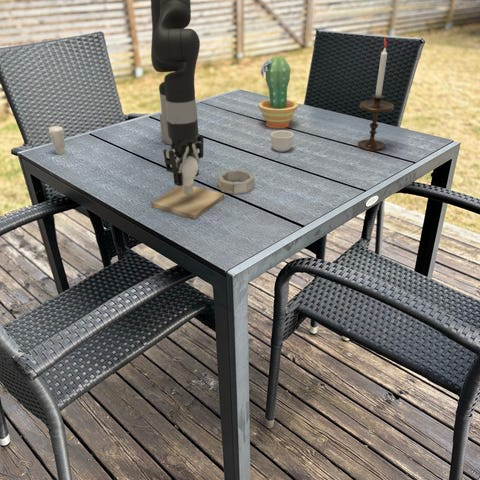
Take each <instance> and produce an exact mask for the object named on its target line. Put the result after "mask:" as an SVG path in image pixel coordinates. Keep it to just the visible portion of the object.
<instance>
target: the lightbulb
mask: <svg viewBox="0 0 480 480" xmlns="http://www.w3.org/2000/svg"><path fill="white" fill-rule="evenodd" d="M176 159H177V160H181V158H178V157H177V158H176ZM178 165H179V163H177V164H176V166H177V168H178ZM198 166H199V162H198V163H197V161H196V159H195V158H194V157H192V156H188V157H187V158H186V161H185V164H183V167H182V171H181V172H182V177H183V185H182V186H183V193H184V194H186V195H190V194H192V193H193V186H194V185H193V184H194V181H195V178H196V177H197V176H196V174H197V172H198Z"/></svg>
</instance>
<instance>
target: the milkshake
mask: <svg viewBox="0 0 480 480" xmlns="http://www.w3.org/2000/svg"><path fill="white" fill-rule="evenodd" d="M63 127H64V122H62V125H60V126H59V125H53V126H50V127H49V128H48V132H49V136H50V138H51V141H52V144H53V148H54V152H55V155H64V154H66V153H67V150H66V149H67V148H66V144H65V143H66V142H65V133H64V128H63Z"/></svg>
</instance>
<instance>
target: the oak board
mask: <svg viewBox="0 0 480 480" xmlns="http://www.w3.org/2000/svg"><path fill="white" fill-rule="evenodd" d="M223 199H225V193H224V192H223V193H222V192H219V191H215V190H211V189H207V188H203V187H200V186H195V185H193V193H192V194H190V195H186V194H184V193H183V186H178V185H177V186H176V187H175V188H173V189H171V190H170V191H168V192H167V193H164V195H162V196H159V198H157V199H155V200H153V201H152V202H151V207H152V208H154V209H157V210H162V211H164V212H167V213H171V214H176V215H178V216H182V217H186V218H189V219H192V220H197V219H198V218H199V217H200V216H201V215H203V214H204V213H205V212H206V213H207V211H209V210H210V209H211V208H212V207H214V206H215V205H217V204H218V203H219V202H221V201H222V200H223Z"/></svg>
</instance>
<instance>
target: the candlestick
mask: <svg viewBox="0 0 480 480" xmlns="http://www.w3.org/2000/svg"><path fill="white" fill-rule="evenodd" d="M383 42H384V43H383V47H384V48H383V50H382V51H381V53H380V59H379V68H378V74H377V81H376V88H375V94H374V95H371V97H372V98H374V99H371V100H362V101H361V102H359V108H360V109H361V110H363V111H364V112H365V111H366V112H370V113H373V115H372V116H373V117H372V122H371V123H369V127H370V130H369V131H368V133H369V134H370V137H369V139H362V140H359V141H358V142H357V148H358V149H360V150H363V151H366V152H381V151H383V150H384V149H385V148H386V144H385V143H384V142H383V141H380V140H376V139H375V136H376V134H377V133H378V132H377V130H376V129H378V127H379V123H377V122H378V115H379V114H381V113H383V114H384V113H389V112H392V111H394V108H395V104H394V103H392V102H389V101H387V100H386V101H385V100H382V99H384V98H385V96H384V95H383V94H382V93H383V88H384V87H383V86H384V78H385V73H386V65H387V64H386V63H387V60H388V52H387V45H388V44H387V39H386V37H384V38H383Z"/></svg>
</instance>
